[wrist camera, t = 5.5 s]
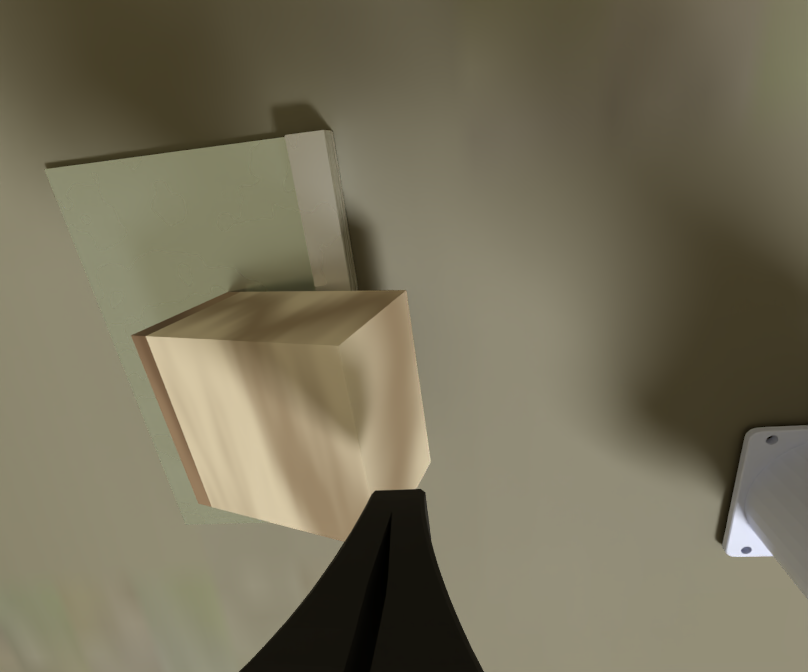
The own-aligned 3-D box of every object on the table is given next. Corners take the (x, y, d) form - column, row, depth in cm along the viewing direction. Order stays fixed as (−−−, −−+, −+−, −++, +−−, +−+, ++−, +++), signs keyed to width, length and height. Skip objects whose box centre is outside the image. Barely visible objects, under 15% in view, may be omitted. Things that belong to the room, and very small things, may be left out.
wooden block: (338, 345, 13) (130, 335, 17) (382, 551, 16) (198, 503, 20) (406, 290, 17) (227, 291, 21) (430, 461, 20) (271, 436, 24)
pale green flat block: (332, 131, 18) (323, 129, 17) (395, 515, 26) (392, 536, 24) (49, 169, 20) (20, 170, 18) (188, 520, 27) (174, 540, 26)
